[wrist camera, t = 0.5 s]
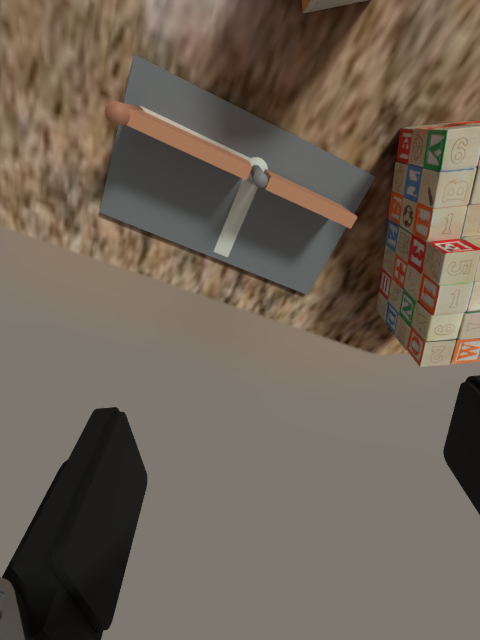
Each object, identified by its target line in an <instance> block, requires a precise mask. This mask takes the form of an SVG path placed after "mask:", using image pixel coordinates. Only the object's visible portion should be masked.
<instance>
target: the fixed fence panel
mask: <svg viewBox="0 0 480 640" xmlns="http://www.w3.org/2000/svg"><path fill="white" fill-rule="evenodd" d="M105 113H106V116H107V118H108V120H109V121H110V122H111V123H112V124H115V125H127V126H129V127H131V128H134V129H136V130H138V131H140V132H142V133H144V134H147V135H149V136H151V137H153V138H155V139H158V140H160V141H162V142H164V143H166V144H168V145H171V146H173V147H175V148H177V149H179V150H181V151H184V152H186V153H188V154H190V155H192V156H195V157H197V158H199V159H201V160H203V161H205V162H208V163H210V164H212V165H214V166H216V167H219V168H221V169H223V170H225V171H227V172H229V173H232V174H234V175H236V176H238V177H240V178H242V179H245V180H247V179H248V176H249V174H250V171H251V169H252V166H251V164H250V162H249V161H248V160H246V159H244V158H242V157H240V156H237V155H235V154H233V153H231V152H229V151H227V150H225V149H223V148H221V147H218V146H216V145H214V144H212V143H210V142H208V141H206V140H204V139H202V138H199V137H197V136H195V135H193V134H191V133H189V132H187V131H185V130H183V129H180V128H178V127H176V126H174V125H172V124H170V123H168V122H166V121H164V120H161V119H159V118H157V117H155V116H153V115H151V114H149V113H147V112H145V111H144V110H143V109H142V108H141V107H139V106H135V105H131V104H126V103H122V102H117V101H111V102H109V103H108V104H107V106H106V109H105Z"/></svg>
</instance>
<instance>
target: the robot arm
mask: <svg viewBox="0 0 480 640" xmlns="http://www.w3.org/2000/svg"><path fill="white" fill-rule="evenodd" d="M444 458H445V461H446V462H447V465H448V466H449V467H450V469H451V471H452V472H453V474H454V475H455V477H456V479H457V480H458V482H459V483H460V485H461V486H462V488H463V490H464V491H465V493H466V494H467V496H468V497H469V499H470V500H471V502H472V504H473V505H474V507H475V508H476V510H477V511H478V513H479V514H480V376H470V377H468V378H467V379H466V381H465V382H464V383H462V384H461V385H460V388H459V392H458V396H457V400H456V404H455V408H454V412H453V415H452V419H451V423H450V427H449V431H448V435H447V440H446V443H445V446H444ZM146 487H147V473H146V470H145V467H144V464H143V462H142V459H141V456H140V453H139V450H138V448H137V445H136V442H135V439H134V436H133V434H132V431H131V428H130V425H129V422H128V420H127V417H126V414H125V413H124V412H120V411H119V409H118V408H117V407H113V408H101V409H96V410H94V411H93V413H92V415H91V417H90V418H89V420H88V422H87V424H86V426H85V428H84V430H83V432H82V434H81V436H80V438H79V440H78V442H77V444H76V445H75V447H74V449H73V451H72V453H71V455H70V457H69V459H68V460H67V461H66V462H64V463H63V465H62V466H61V467H60V469H59V471H58V473H57V474H56V476H55V478H54V480H53V482H52V484H51V486H50V488H49V489H48V491H47V493H46V495H45V497H44V499H43V501H42V503H41V505H40V506H39V509H38V510H37V512H36V514H35V516H34V518H33V520H32V522H31V523H30V525H29V527H28V529H27V531H26V533H25V535H24V537H23V538H22V540H21V542H20V544H19V546H18V548H17V550H16V552H15V554H14V556H13V557H12V559H11V561H10V563H9V565H8V567H7V569H6V571H5V573H4V574H3V576H2V578H0V640H101V637H102V633H103V630H107V629H108V628H109V627H110V625H111V623H112V620H113V616H114V612H115V608H116V604H117V600H118V596H119V592H120V589H121V585H122V580H123V577H124V573H125V569H126V565H127V561H128V557H129V553H130V550H131V546H132V542H133V537H134V534H135V530H136V526H137V522H138V518H139V514H140V511H141V507H142V502H143V499H144V495H145V491H146Z"/></svg>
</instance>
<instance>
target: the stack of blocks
mask: <svg viewBox="0 0 480 640" xmlns="http://www.w3.org/2000/svg"><path fill="white" fill-rule="evenodd" d="M388 218H389V220H388V228H387V235H386V245H385V252H384V260H383V268H382V271H381V278H380V286H379V292H378V299H377V306H376V312H377V313H378V314H379V315H380V316H381V318H382V319H383V320H384V322H386V324H387V325H388V326H389V328H390V329H391V330H392V332H393V333H394V334H395V336H396V338H397V339H398V340H399V342H400V343H401V344H402V345H403V347H404V348H405V349H406V350H408V352H409V353H410V354H411V356H412V357H413V358H414V360H415V361H416V362H417V363H418V365H419V366H421V367H425V366H436V365H449V364H450V363H451V364H459V363H470V362H479V361H480V121H466V122H453V123H443V124H434V125H422V126H413V127H406V128H401V129H400V136H399V145H398V153H397V162H396V163H395V170H394V178H393V185H392V193H391V200H390V207H389V215H388Z"/></svg>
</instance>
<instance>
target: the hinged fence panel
mask: <svg viewBox="0 0 480 640" xmlns="http://www.w3.org/2000/svg"><path fill="white" fill-rule="evenodd" d="M250 174H251V177H252V179H253V181H254V184H255V185H256V186H257V187H258V188H263V187H264V188H265V190H267V191H270V192H272V193H274V194H276V195H278V196H281V197H283V198H285V199H287V200H289V201H291V202H294V203H296V204H298V205H300V206H302V207H304V208H307V209H309V210H311V211H313V212H315V213H318V214H320V215H322V216H324V217H326V218H328V219H331V220H333V221H335V222H337V223H339V224H342V225H344V226H346V227H348V228H350V229H351V228H352V226H353V224H354V223H355V221H356V219H357V216H356V215H354V214H353V213H352V212H350V211H349V210H347V209H346V208H345V207H343V206H342V205H340V204H338V203H336V202H334V201H332V200H330V199H328V198H326V197H324V196H322V195H319V194H317V193H315V192H313V191H311V190H309V189H307V188H305V187H303V186H300V185H298V184H296V183H294V182H292V181H290V180H288V179H286V178H283V177H281V176H279V175H277V174H275V173H273V172H271V171H269V170H267V169H265V170H264V172H263V170H262V169H261V168H260V166H258V165H253V166H252V169H251V171H250Z"/></svg>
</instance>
